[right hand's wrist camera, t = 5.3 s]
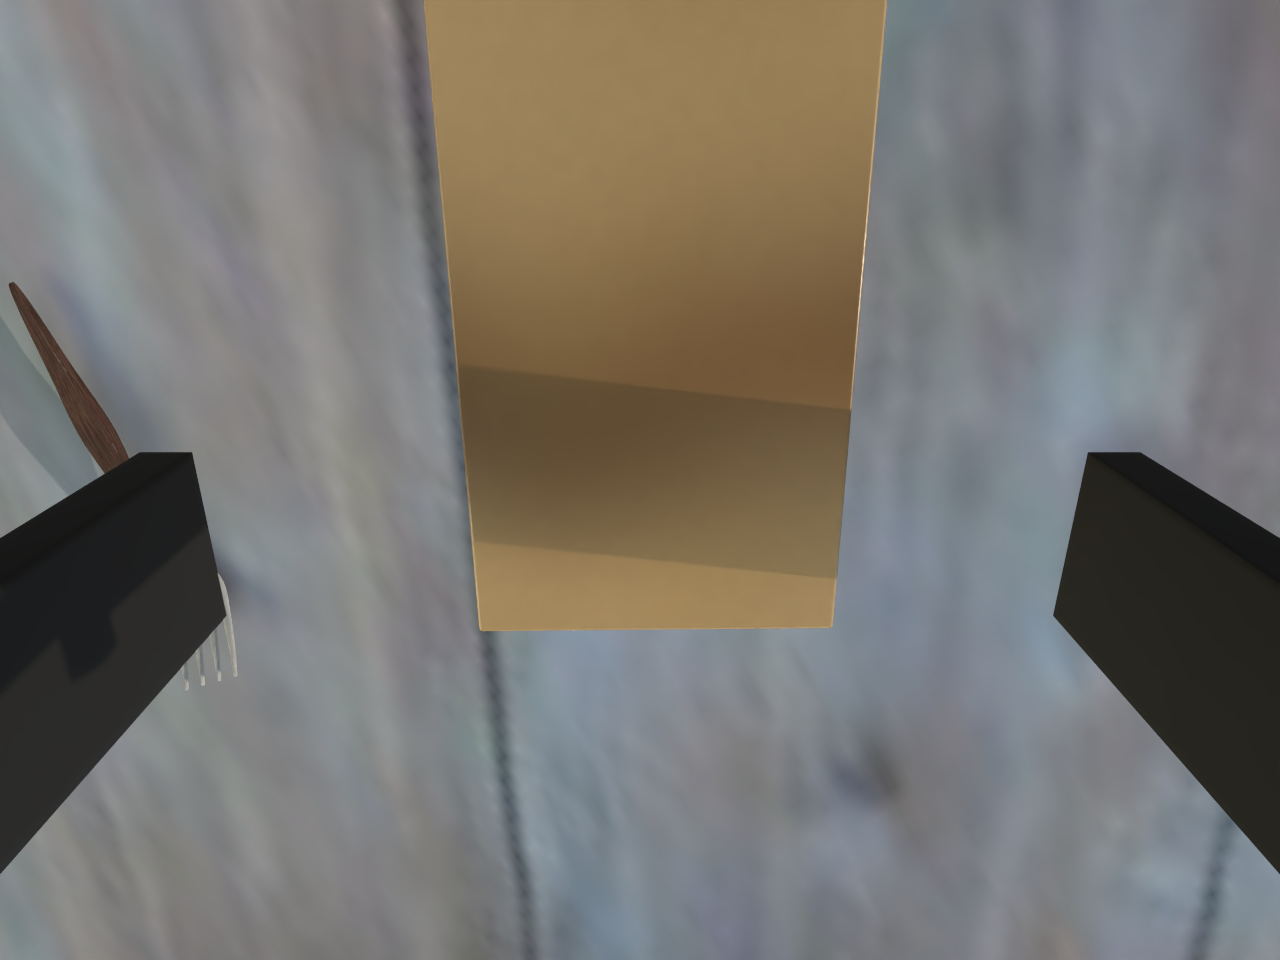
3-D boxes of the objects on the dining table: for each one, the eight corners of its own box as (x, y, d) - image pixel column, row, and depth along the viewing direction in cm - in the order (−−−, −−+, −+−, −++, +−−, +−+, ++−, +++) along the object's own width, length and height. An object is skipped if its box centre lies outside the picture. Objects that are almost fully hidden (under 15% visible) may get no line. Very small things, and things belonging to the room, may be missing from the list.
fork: (55, 269, 29) (15, 277, 27) (262, 647, 34) (241, 676, 32) (-12, 291, 29) (-56, 300, 27) (205, 664, 35) (180, 692, 33)
